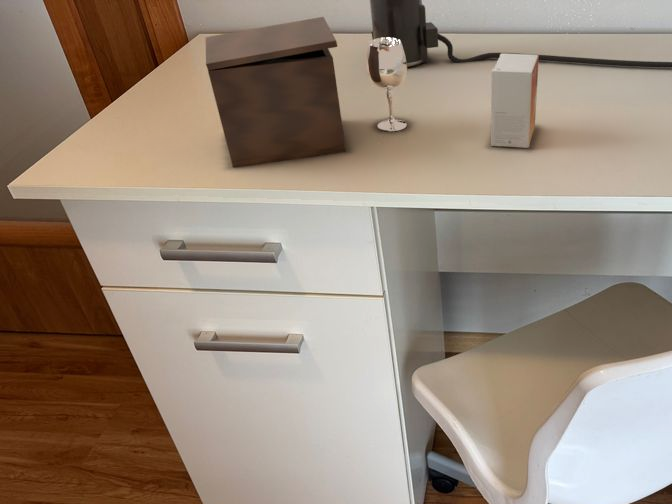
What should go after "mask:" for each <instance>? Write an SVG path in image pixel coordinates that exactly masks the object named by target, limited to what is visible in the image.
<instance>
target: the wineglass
mask: <svg viewBox="0 0 672 504" xmlns="http://www.w3.org/2000/svg"><path fill="white" fill-rule="evenodd" d="M365 65H366V72H367V76H368V78H369V80H370V82H371V83H372V84H373V85H374V86H376V87H378V88H380V89H384V90H386V92H385V97H386V100H387V104H388V112H389V116H388V117H389V118H388V119H384V120H382V121H380V122H379V123H378V124H377V129H378V130H380V131H382V132H398V131H402V130H404V129H405V128H407V126H408V124H407V122H406V121H404V120H402V119H396V118H395V117H394V112H393V98H394V93H393V91H392V90H393V89H395V88H398V87H399V86H401V85H402V84H403V83H404V82H405V81H406V79H407V74H408V67H407V62H406V57H405V52H404V49H403V46H402V43H401V40H399V39H397V38H390V37H384V38H376V39H373V40H372V39H371V40H369V41H368V43H367V49H366V64H365Z"/></svg>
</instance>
